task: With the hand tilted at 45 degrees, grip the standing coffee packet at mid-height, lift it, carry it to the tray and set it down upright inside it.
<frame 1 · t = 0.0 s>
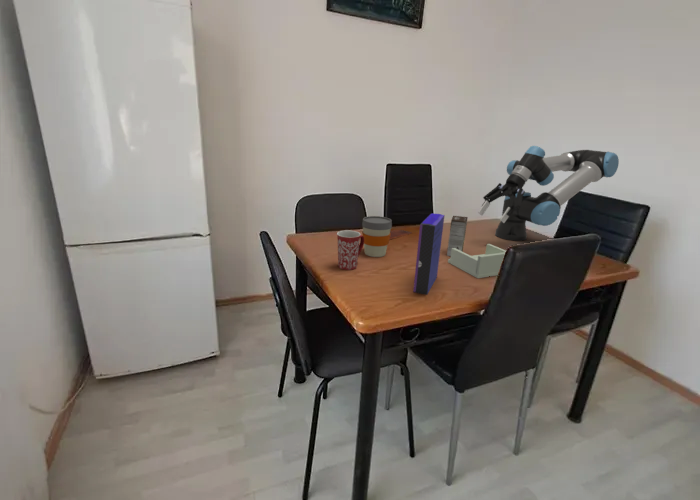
hand: (490, 217, 177), 15 cm above the table, tool tilted 35°, fingers open, 13 cm apart
mug: (350, 266, 156), on the table
tray: (481, 266, 160), on the table
wooden tablet: (389, 236, 198), on the table
reusable coffee cup: (375, 253, 171), on the table
coffee box: (454, 254, 175), on the table
cereal box: (425, 284, 142), on the table
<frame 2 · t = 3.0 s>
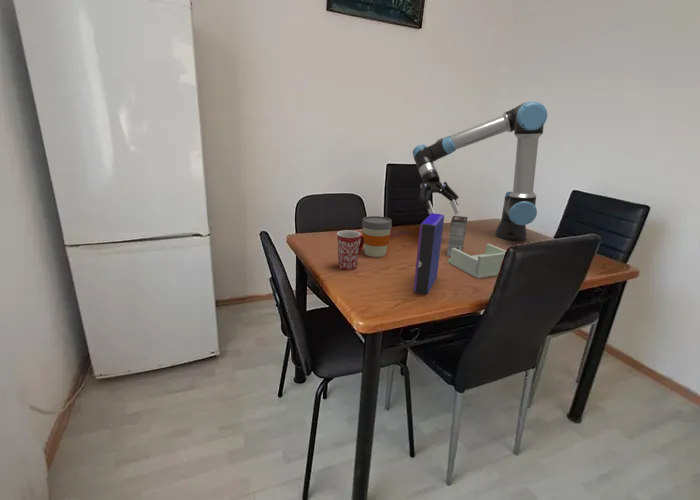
hand: (445, 214, 178), 16 cm above the table, tool tilted 45°, fingers open, 13 cm apart
nothing on the table moved.
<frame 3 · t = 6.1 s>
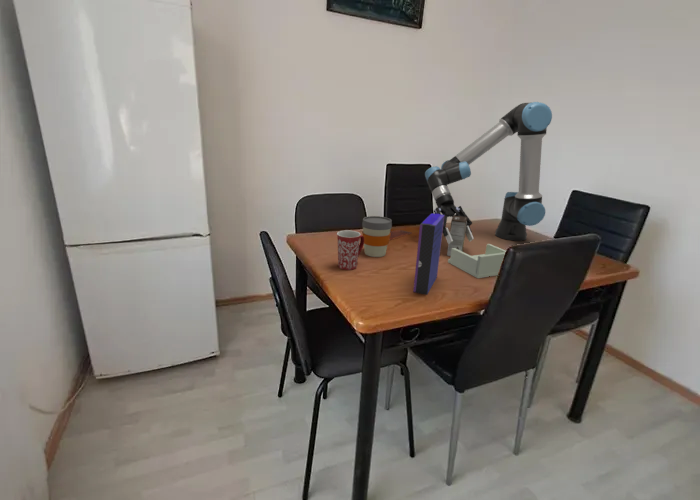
hand: (461, 241, 170), 7 cm above the table, tool tilted 45°, fingers closed on coffee box, 10 cm apart
coffee box: (454, 254, 175), on the table, touching gripper
everything else where it was.
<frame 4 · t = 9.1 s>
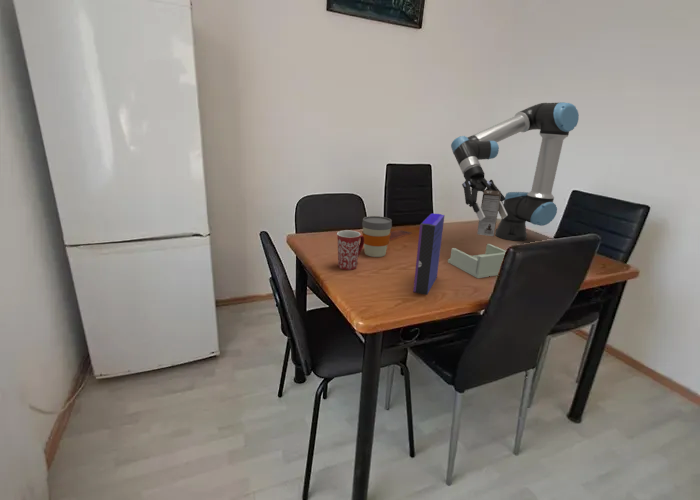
hand: (493, 218, 152), 21 cm above the table, tool tilted 45°, fingers closed on coffee box, 10 cm apart
coffee box: (485, 233, 156), point 14 cm above the table, touching gripper
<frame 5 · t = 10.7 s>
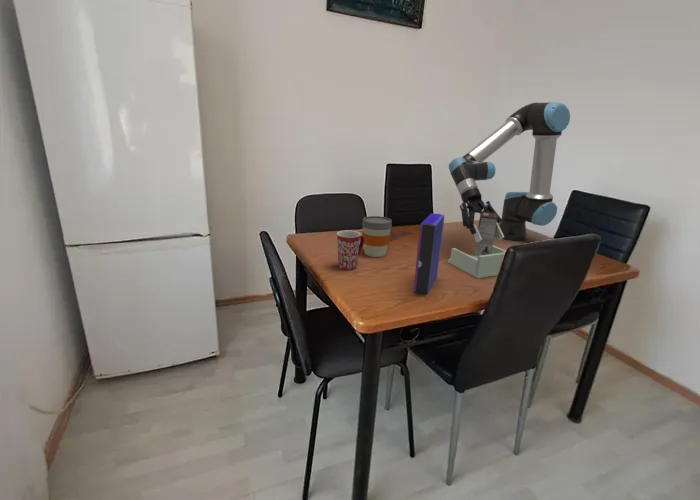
hand: (490, 239, 154), 12 cm above the table, tool tilted 45°, fingers closed on coffee box, 10 cm apart
coffee box: (482, 254, 159), point 6 cm above the table, touching gripper
when the fingers open (8 cm above the table, at t = 12.1 s): coffee box stays where it is, resting on tray.
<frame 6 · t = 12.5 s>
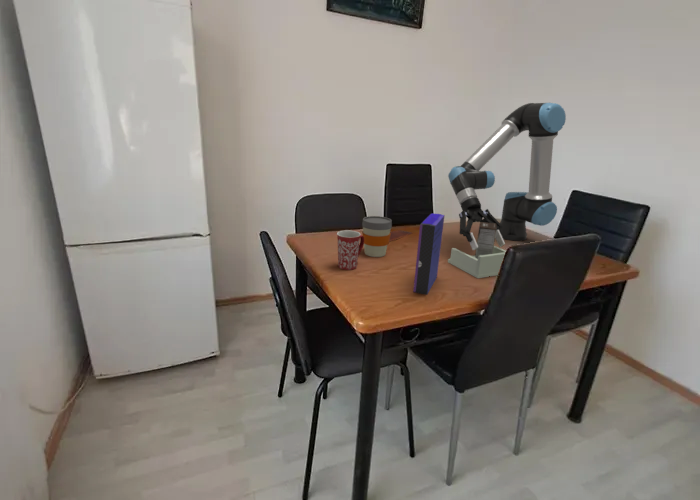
hand: (489, 247, 156), 9 cm above the table, tool tilted 45°, fingers open, 13 cm apart
coffee box: (482, 263, 160), point 1 cm above the table, touching tray
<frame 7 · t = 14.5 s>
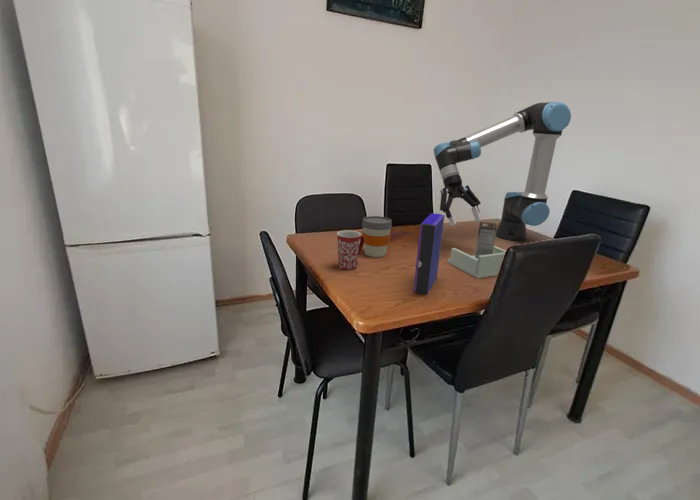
hand: (466, 223, 168), 15 cm above the table, tool tilted 35°, fingers open, 13 cm apart
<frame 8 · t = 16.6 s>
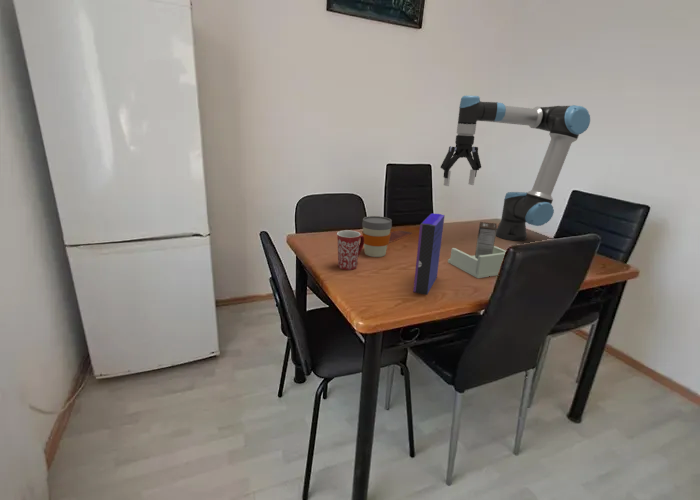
hand: (458, 185, 174), 29 cm above the table, tool pointing down, fingers open, 13 cm apart
at the end: coffee box inside the target area on the tray (0.1 cm from its centre), point 1.3 cm above the tray's base; coffee box tilted 0°; the gripper is holding nothing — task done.
